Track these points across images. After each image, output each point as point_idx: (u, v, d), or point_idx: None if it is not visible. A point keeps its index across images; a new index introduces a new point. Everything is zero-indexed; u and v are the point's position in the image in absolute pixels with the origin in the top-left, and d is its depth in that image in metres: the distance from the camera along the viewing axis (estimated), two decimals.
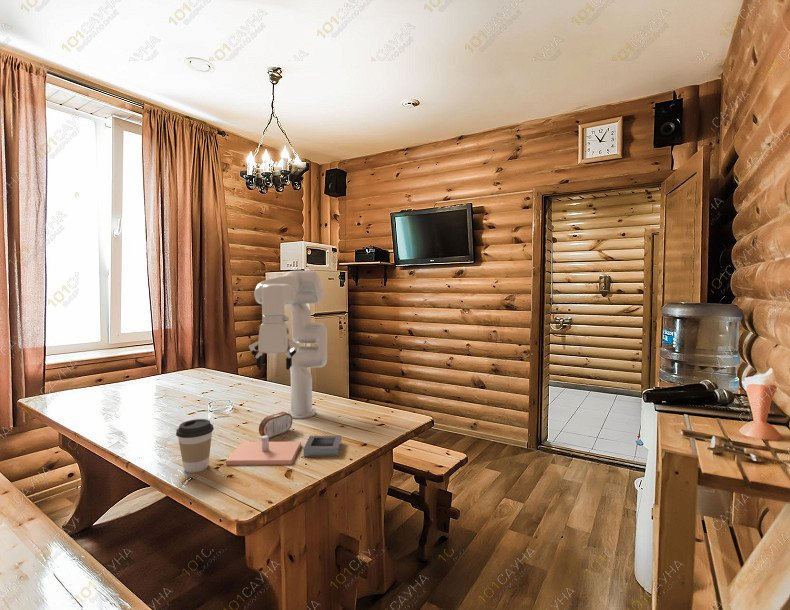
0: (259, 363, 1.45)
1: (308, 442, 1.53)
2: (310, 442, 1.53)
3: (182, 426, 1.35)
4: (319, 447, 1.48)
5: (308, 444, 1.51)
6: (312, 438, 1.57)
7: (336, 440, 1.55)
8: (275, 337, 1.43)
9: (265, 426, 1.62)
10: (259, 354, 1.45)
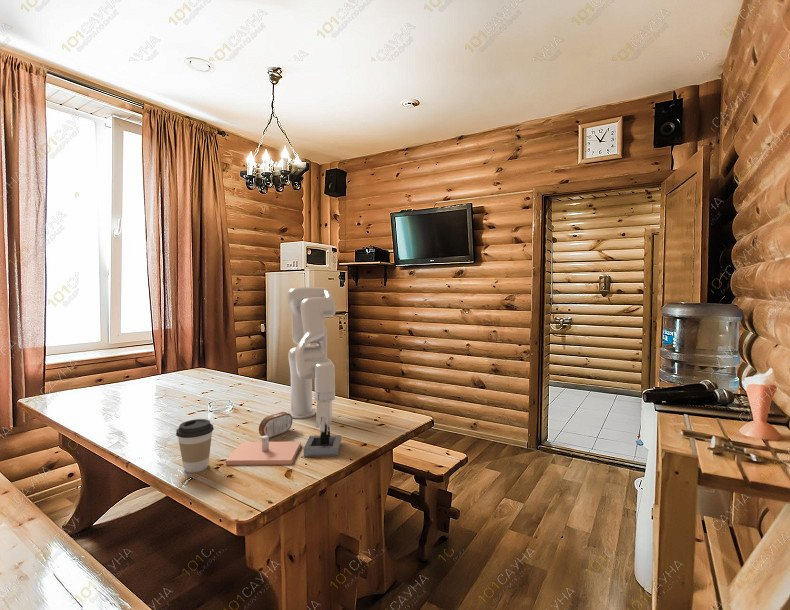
0: None
1: (308, 442, 1.53)
2: (310, 442, 1.53)
3: (182, 426, 1.35)
4: (319, 447, 1.48)
5: (308, 444, 1.51)
6: (312, 438, 1.57)
7: (336, 440, 1.55)
8: None
9: (265, 426, 1.62)
10: None
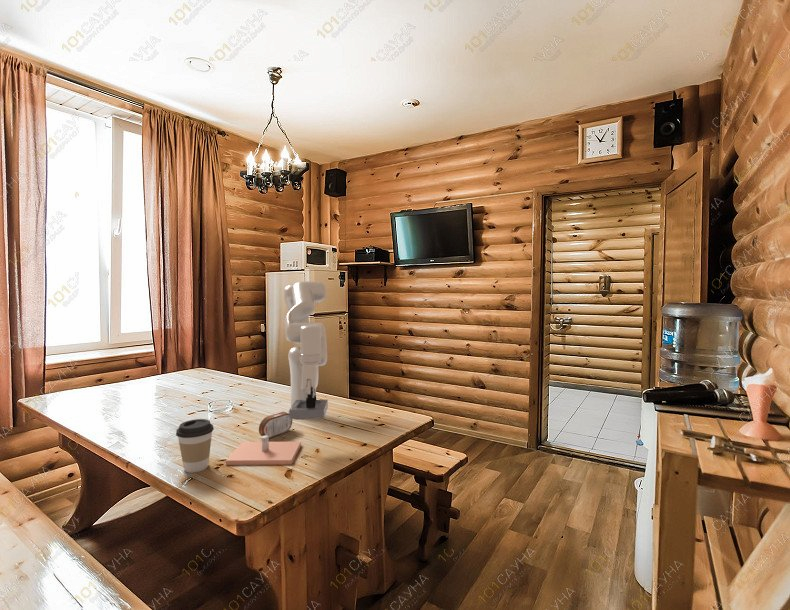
0: None
1: (294, 405, 1.51)
2: (296, 405, 1.51)
3: (182, 426, 1.35)
4: (305, 409, 1.46)
5: (294, 407, 1.49)
6: (298, 402, 1.55)
7: (322, 403, 1.53)
8: None
9: (265, 426, 1.62)
10: None
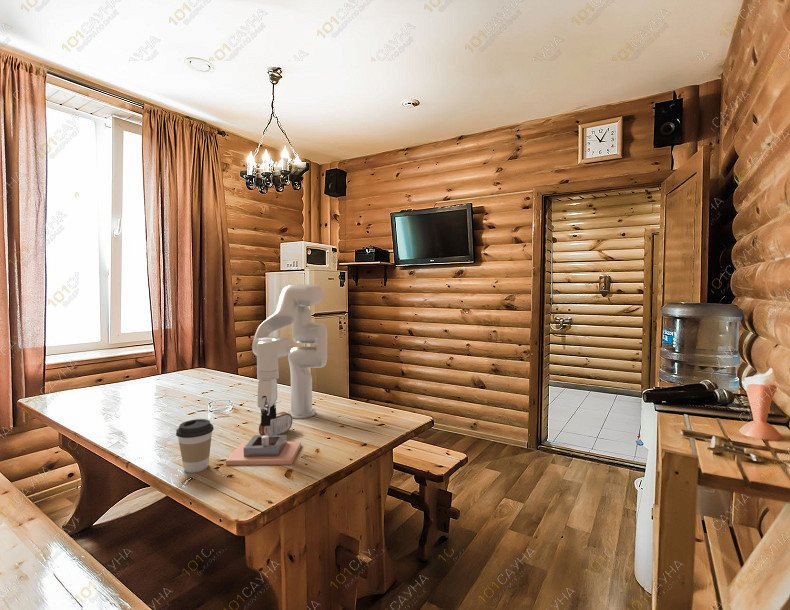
0: None
1: (251, 442, 1.49)
2: (252, 442, 1.49)
3: (182, 426, 1.35)
4: (260, 447, 1.45)
5: (249, 444, 1.47)
6: (256, 438, 1.53)
7: (280, 440, 1.51)
8: (275, 388, 1.54)
9: (265, 426, 1.62)
10: (269, 410, 1.50)
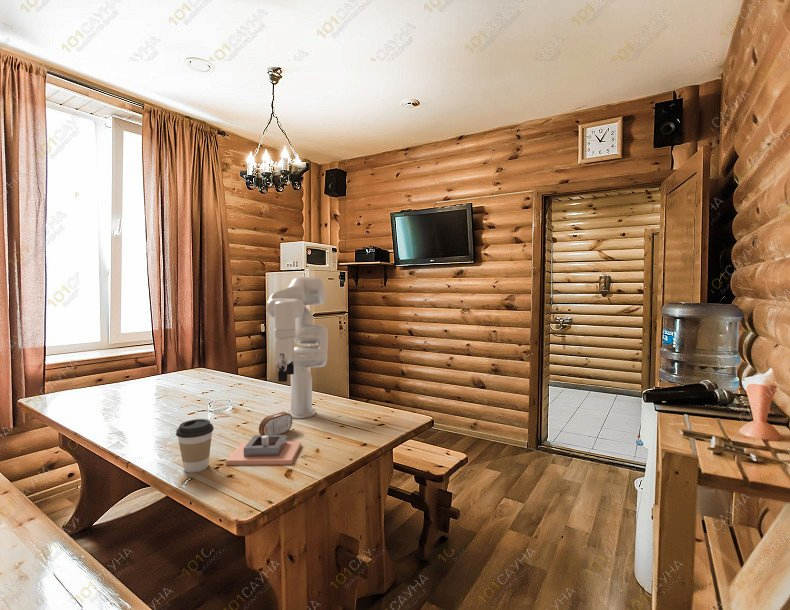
0: (286, 375, 1.55)
1: (251, 442, 1.49)
2: (252, 442, 1.49)
3: (182, 426, 1.35)
4: (260, 447, 1.45)
5: (249, 444, 1.47)
6: (256, 438, 1.53)
7: (280, 440, 1.51)
8: (292, 347, 1.60)
9: (265, 426, 1.62)
10: (286, 367, 1.54)
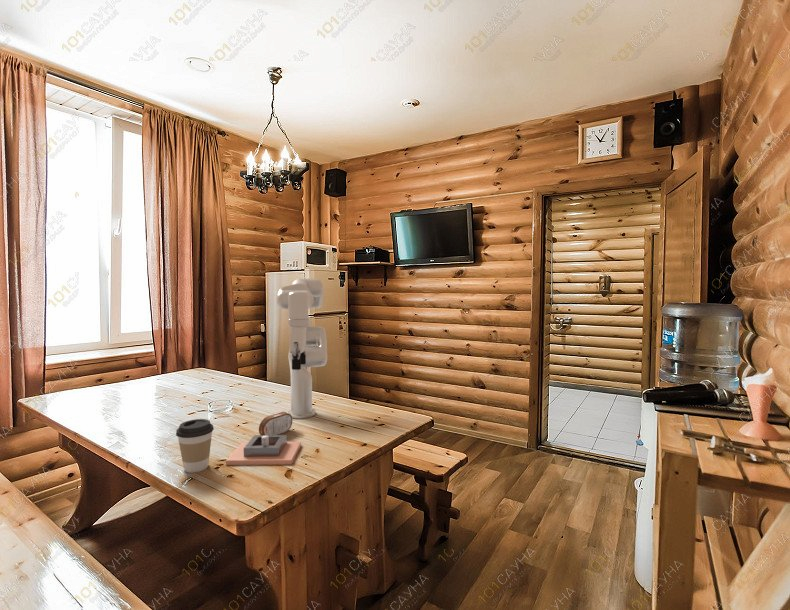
0: None
1: (251, 442, 1.49)
2: (252, 442, 1.49)
3: (182, 426, 1.35)
4: (260, 447, 1.45)
5: (249, 444, 1.47)
6: (256, 438, 1.53)
7: (280, 440, 1.51)
8: (305, 337, 1.64)
9: (265, 426, 1.62)
10: (299, 355, 1.59)
